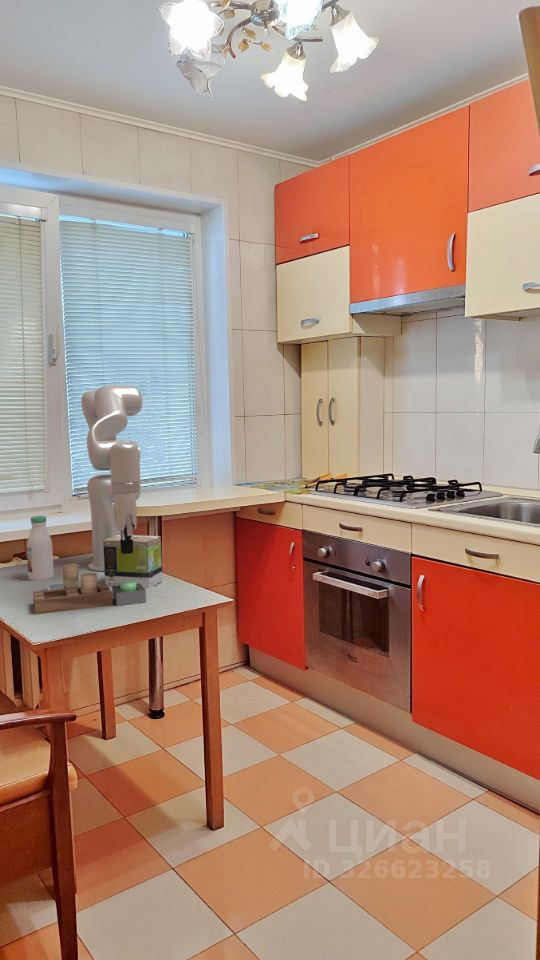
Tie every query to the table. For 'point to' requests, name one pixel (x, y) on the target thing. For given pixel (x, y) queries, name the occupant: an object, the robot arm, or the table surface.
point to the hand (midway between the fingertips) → (126, 552)
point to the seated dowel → (88, 583)
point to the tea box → (133, 561)
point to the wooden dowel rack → (71, 599)
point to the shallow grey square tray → (57, 586)
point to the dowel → (70, 576)
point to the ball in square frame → (128, 595)
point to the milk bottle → (39, 551)
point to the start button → (128, 586)
